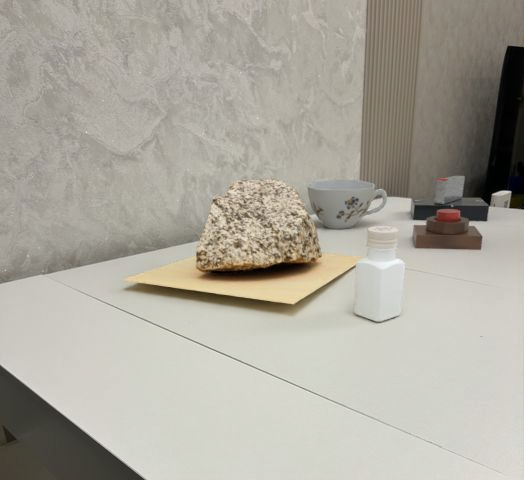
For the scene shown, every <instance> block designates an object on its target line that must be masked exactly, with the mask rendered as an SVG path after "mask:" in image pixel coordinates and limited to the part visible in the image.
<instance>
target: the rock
mask: <svg viewBox="0 0 524 480" xmlns="http://www.w3.org/2000/svg"><path fill="white" fill-rule="evenodd" d="M318 235H319V234H318V233H317V229H316V226H315V224H314V220H313V219H312V217H311V215H310V214H309V212H308V211H307V209H306V207H305V204H304V203H303V201H302V200H301V197H300V195H299V191H298V189H296V188H294V187H291V186H289V185H287V184H286V183H285V181H283V180H280V179H274V178H264V179H260V178H259V179H247V178H243V179H237V180H234V181H233V183H230V184H229V188H228V189H227V192H226V195H224V196H221V195H218V194H215V195H213V198H212V202H211V205H210V211H209V213H208V217H207V219H206V222H205V225H204V229H203V231H202V232H200V237H199V240H198V244H197V245H196V252H195V255H193V256H190V257H187V258H184V259H181V260H178V261H174V262H172V263H169V264H168V263H167V264H165V265H163V266H159V267H156V268H153V269H151V270H148V271H147V270H146V271H144V272H141V273H138V274H135V275H131V276H129V277H126V278H122V279H121V281H126V282H132V283H133V282H134V283H139V284H147V285H154V286H161V287H167V288H168V287H169V288H174V289H180V290H181V289H182V290H189V291H196V292H201V293H202V292H203V293H210V294H216V295H223V296H224V295H225V296H231V297H237V298H245V299H246V298H247V299H253V300H258V301H259V300H260V301H266V302H267V301H269V302H273V303H282V304H289V305H296V303H298V302H300V301H301V300H302V299H305V298H306V297H308V296H309V295H311V294H313V293H315V291H317V290H318V289H320V288H322V287H323V286H326V284H328V283H330V282H332V281H333V280H335V279H336V278H338V277H339V276H341V275H342V274H344V273H346V272H347V271H349V270H350V269H352V268H353V267H356V263H357V262H358V260H360V259H362V258H364V257H365V256H358V255H349V254H337V253H326V252H322V250H321V245H320V244H319V241H320V240H319V236H318ZM215 271H216V272H215Z"/></svg>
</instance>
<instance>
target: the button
mask: <svg viewBox="0 0 524 480" xmlns="http://www.w3.org/2000/svg"><path fill="white" fill-rule="evenodd" d="M459 219H460V211H459V210H455V209H440V210H437V216H436V220H437V221H444V222H456V221H459Z"/></svg>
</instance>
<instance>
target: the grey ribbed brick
mask: <svg viewBox="0 0 524 480" xmlns="http://www.w3.org/2000/svg"><path fill="white" fill-rule="evenodd" d="M465 179H466V177H465V175H453V176H447V177H443V178H441V177H439V178H437V179H436V182H435V192H434V198H435V201H434V204H446V203H450V202H453V201H456V200H459V199H462V198H463V194H464V188H465V187H464V186H465Z"/></svg>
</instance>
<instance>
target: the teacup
mask: <svg viewBox="0 0 524 480" xmlns="http://www.w3.org/2000/svg"><path fill="white" fill-rule="evenodd" d="M306 187H307V193H308V194H307V195H308V199H309V203H310V206H311V209H312V211H313V213H314V214H315V216H316V217H317V219H318V220H319V221H320V222H321V223H322V225H323V226H324V227H325V228H328V229H334V230H335V229H337V230H344V229H351V228H354V227H355V225H356V224H357V223H358V222H359V221H361V220H362V218H364V217H365V216H368V215H369V216H370V215H373V214H376V213H379V212H380V211H382V210H383V209H384V207H385V206H386V204H387V200H388V194H387V191H386V190H385V189H384V188H378V189H375V187H376V185H375V183H373V182H368V181H364V180H361V179H345V178H343V179H342V178H338V179H335V178H334V179H323V180H318V181H317V180H316V181H312V182H308V183H306ZM377 196H381V197H382V203H381V204H379V205H378V206H377V207H375V208H373V209H370V210H369V208H370V206H371V204H372V202H373V201H374V200H375V198H376V197H377Z"/></svg>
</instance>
